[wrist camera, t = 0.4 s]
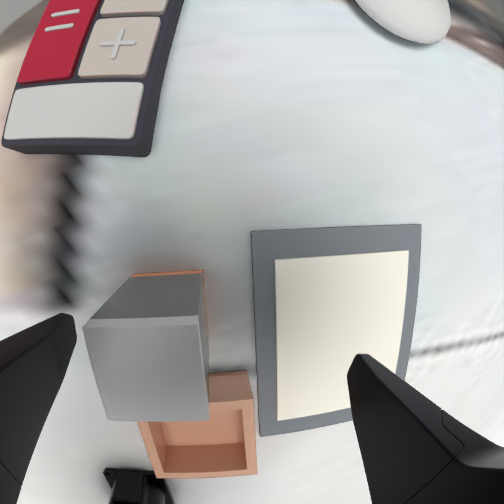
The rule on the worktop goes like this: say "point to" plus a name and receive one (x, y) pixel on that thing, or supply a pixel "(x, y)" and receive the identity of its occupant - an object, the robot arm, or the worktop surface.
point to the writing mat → (328, 316)
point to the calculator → (92, 78)
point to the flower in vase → (411, 18)
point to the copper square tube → (208, 435)
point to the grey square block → (152, 349)
